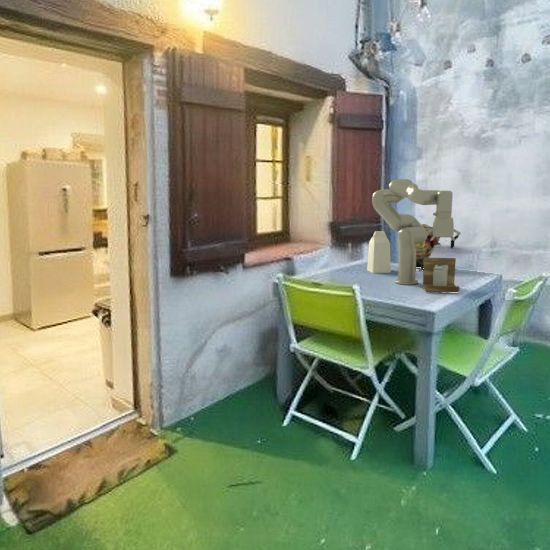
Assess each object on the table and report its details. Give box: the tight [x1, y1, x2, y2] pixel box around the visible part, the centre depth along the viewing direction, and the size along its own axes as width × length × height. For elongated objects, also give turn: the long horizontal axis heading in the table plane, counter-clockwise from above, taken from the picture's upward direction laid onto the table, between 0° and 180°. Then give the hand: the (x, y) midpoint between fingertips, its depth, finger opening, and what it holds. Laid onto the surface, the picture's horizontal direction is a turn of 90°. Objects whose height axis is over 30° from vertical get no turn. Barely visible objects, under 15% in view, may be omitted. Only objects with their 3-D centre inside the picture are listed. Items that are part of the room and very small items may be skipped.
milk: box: [366, 230, 392, 274], centre depth 302 cm, size 12×12×26 cm
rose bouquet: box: [414, 223, 441, 270], centre depth 309 cm, size 26×29×30 cm
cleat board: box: [422, 257, 460, 293], centre depth 245 cm, size 16×16×16 cm
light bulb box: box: [433, 265, 448, 286], centre depth 245 cm, size 11×7×11 cm, turn 157°
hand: (441, 248), depth 242 cm, fingers open, 9 cm apart
